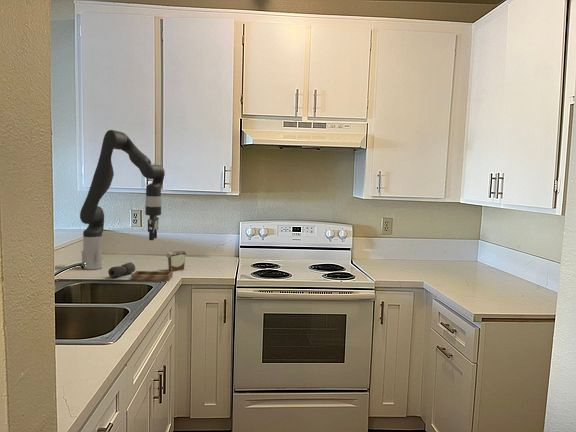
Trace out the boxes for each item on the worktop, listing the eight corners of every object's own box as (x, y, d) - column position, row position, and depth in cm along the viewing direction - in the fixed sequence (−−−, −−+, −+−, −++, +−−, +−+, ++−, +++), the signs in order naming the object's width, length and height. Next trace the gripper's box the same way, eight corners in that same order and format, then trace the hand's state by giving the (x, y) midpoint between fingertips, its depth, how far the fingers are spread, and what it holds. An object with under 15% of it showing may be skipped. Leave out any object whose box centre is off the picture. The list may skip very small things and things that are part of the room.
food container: (177, 267, 262) (178, 250, 261) (186, 269, 259) (186, 251, 258) (161, 271, 251) (161, 252, 251) (169, 272, 248) (170, 254, 248)
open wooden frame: (131, 280, 228) (131, 274, 228) (136, 275, 238) (136, 270, 238) (169, 280, 229) (169, 275, 229) (172, 276, 239) (172, 271, 239)
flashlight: (117, 268, 228) (107, 265, 230) (115, 279, 229) (106, 276, 230) (136, 263, 243) (127, 260, 244) (134, 273, 243) (126, 270, 245)
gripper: (148, 204, 238) (148, 237, 239) (142, 206, 223) (141, 241, 225) (163, 204, 238) (163, 237, 240) (158, 206, 224) (157, 241, 225)
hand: (153, 239), depth 232 cm, fingers open, 6 cm apart
